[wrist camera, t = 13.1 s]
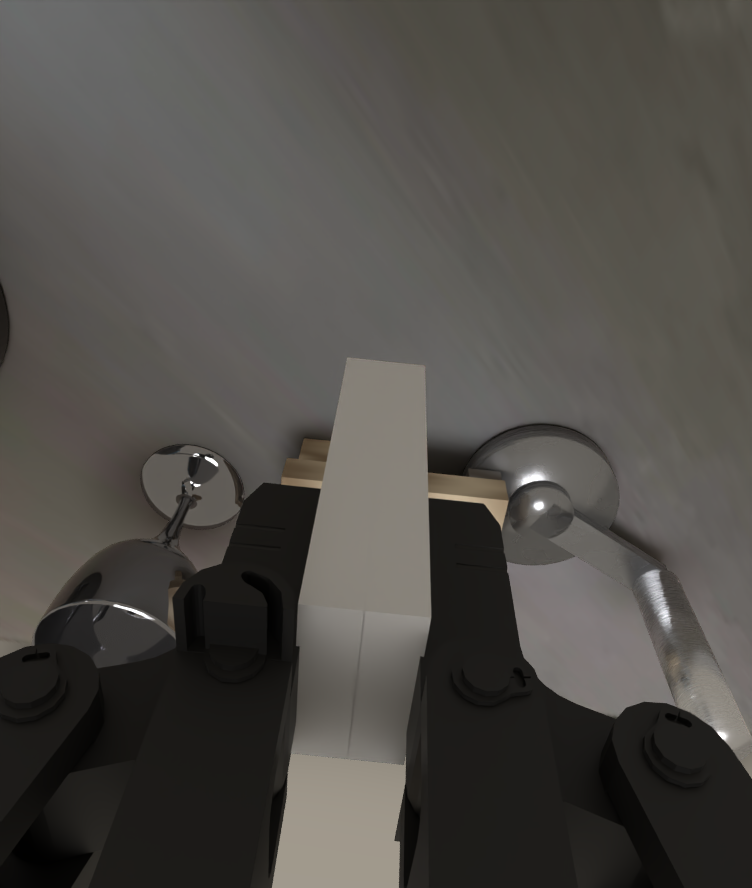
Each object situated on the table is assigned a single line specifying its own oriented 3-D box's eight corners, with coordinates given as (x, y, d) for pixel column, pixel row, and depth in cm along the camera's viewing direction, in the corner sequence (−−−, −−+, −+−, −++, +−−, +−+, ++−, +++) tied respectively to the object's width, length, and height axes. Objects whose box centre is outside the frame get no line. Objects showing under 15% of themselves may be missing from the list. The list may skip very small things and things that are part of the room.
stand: (290, 585, 52) (273, 662, 46) (296, 424, 45) (277, 490, 39) (463, 603, 52) (470, 682, 46) (498, 445, 45) (511, 514, 39)
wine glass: (110, 465, 47) (-3, 633, 34) (206, 421, 45) (124, 582, 32) (179, 548, 51) (100, 727, 38) (271, 510, 49) (220, 687, 36)
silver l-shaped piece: (429, 503, 47) (433, 680, 35) (527, 397, 43) (573, 556, 30) (609, 610, 52) (671, 802, 39) (716, 524, 47) (824, 709, 34)
